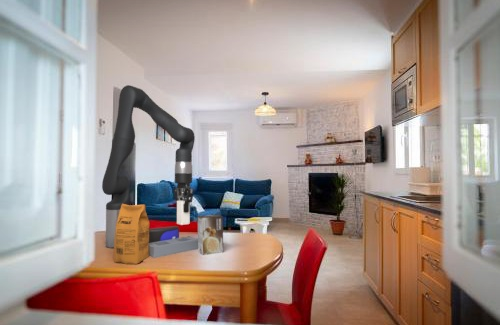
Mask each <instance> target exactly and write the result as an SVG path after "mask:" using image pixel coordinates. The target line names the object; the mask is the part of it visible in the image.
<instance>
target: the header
mask: <svg viewBox="0 0 500 325" xmlns="http://www.w3.org/2000/svg"><path fill="white" fill-rule="evenodd" d="M196 250H198V237H192V236H183V237H179V238H176V239H170V240H164V241H158V242H152V243H149V257H151V258H153V259H156V258H162V257H166V256H171V255H177V254H181V253H186V252H190V251H196Z"/></svg>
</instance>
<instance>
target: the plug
mask: <svg viewBox="0 0 500 325" xmlns="http://www.w3.org/2000/svg"><path fill="white" fill-rule="evenodd" d="M183 204H184V202H183V200H180V201H176V224H177V225H180V226H183V225H189V224H190V223H191V222H190V220H191V217H190V216H191V215H190V213H191V202H190V203H189V212H183Z"/></svg>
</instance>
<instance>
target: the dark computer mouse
mask: <svg viewBox="0 0 500 325" xmlns="http://www.w3.org/2000/svg"><path fill="white" fill-rule="evenodd" d="M176 238H180V228H179V226H177V225H174V226H173V225H172V226H164V227H163V226H162V227H156V228H149V243H152V242H158V241H164V240H170V239H176Z"/></svg>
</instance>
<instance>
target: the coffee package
mask: <svg viewBox="0 0 500 325" xmlns="http://www.w3.org/2000/svg"><path fill="white" fill-rule="evenodd" d="M146 208H147V205H146V204H134V205H133V204H132V205H131V204H130V205H129V204H128V205H126V204H122V205H121V209H120V212H119V216H118V219H117V224H116V229H115V239H114V253H113V256H114V257H113V258H114V261H113V262H114V263H122V264H124V265H136V264H137V265H138V264H139V263H141V262H142V261H144V260H147V259H148V258H149V257H150V256H149V229H150V220H149V217H148V215H147V214H148V213H147V212H146Z"/></svg>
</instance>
